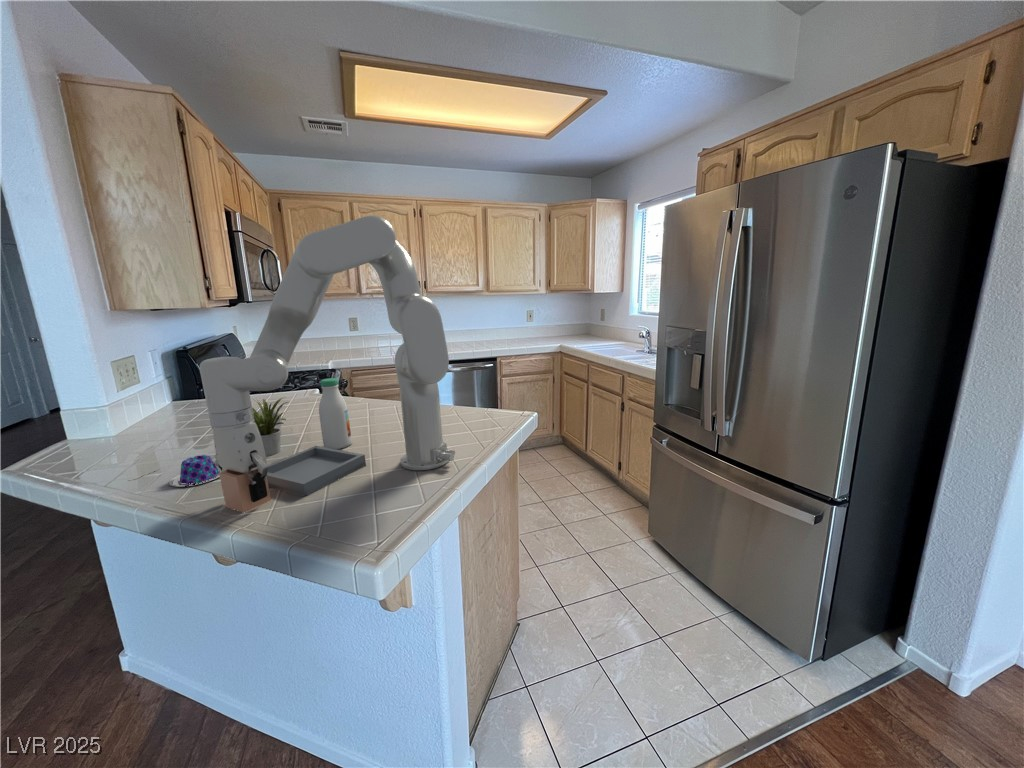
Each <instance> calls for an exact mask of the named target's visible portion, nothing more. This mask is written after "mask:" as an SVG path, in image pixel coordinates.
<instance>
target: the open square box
mask: <svg viewBox="0 0 1024 768" xmlns="http://www.w3.org/2000/svg"><path fill="white" fill-rule="evenodd" d="M254 467H255V466H254V465H253V466H251V467H249V469H251V468H254ZM251 473H252V475H253V477H254V476H255V474H256V473H257V471H254V472H251ZM218 475H220V477H219V478H220V479H219V480H220V484H221V489H222V493H223V498H224V503H225V507H228V508H231V509H230V510H232V509H235V510H238V511H241V512H243V513H242V514H245V513H247V512H249V510H250V511H251V509H252V510H253V508H254V509H255V507H256V508H258V507H259V506H260V507H261V506H262V505H264V504H265V503H268V502H270V501H272V498H271V494H270V487H269V486H268V481H267V475H266V479H265V483H266V489H267V497H265V498H263V499H261V500H258V501H256V502H252V501H251V497H250V491H249V486H248V485H249V484H251V483H250V482H249V480H248V478H247V476H246V474H245V473H241V472H237V471H233V470H229V469H228V470H226V471H223V472H219V474H218ZM228 508H227V509H228ZM235 510H234V511H235ZM238 511H237V512H238ZM246 511H247V512H246ZM241 512H240V513H241ZM244 512H245V513H244Z"/></svg>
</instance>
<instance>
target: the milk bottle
mask: <svg viewBox="0 0 1024 768" xmlns="http://www.w3.org/2000/svg"><path fill="white" fill-rule="evenodd" d="M320 386H321V387H320V388H321V389H322V394H321V398H320V401H319V404H318V414H319V424H320V431H321V436H322V437H321V439H322V443H323V447H325V448H331V449H336V450H342V449H344V448H348V447H350V446H351V444H352V443H353V442H352V441H353V440H352V434H351V433H352V432H351V426H350V424H351V423H350V417H349V411H348V410H349V409H348V405H347V403H346V400H345V398H344V397H343V395H342V394H341V393H340V390H339V379H338V378H335V377H332V378H330V377H329V378H323V379H321V380H320ZM349 445H350V446H349ZM347 446H348V447H347ZM341 448H342V449H341Z"/></svg>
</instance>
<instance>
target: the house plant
mask: <svg viewBox="0 0 1024 768" xmlns="http://www.w3.org/2000/svg"><path fill="white" fill-rule="evenodd" d="M285 398H286V396H284V397H281V398H278V399H277V400H276V402H271V403H270V404H268V402H267V401H266V399H264V398H262V404H261V403H260V401H259V400H258V399H257V398H256V399H254V398H252V400H254V401H255V402H256V403H257V405H258V406H259V409H261V411H262V414H263V417H264V418H262V415H261V414H258V413H257V412H258V411H257V410H256V409H255V408H254V407H252V409H253V415H254V422H255V423H256V425H257V427H258V430H259V432H260V436H261V439H262V442H263V446H264V450H265V455H266V457H269V456H274V455H277V454H279V453H280V452H281V448H282V447H281V442H282V441H281V439H282V438H281V436H282V434H281V433H282V429H281V428H280V429H279V428H274V427H275V425H277V424H281V425H285V423H284V422H283V421H285V422H287V418H284V417H283V418H282V419H280V420H282V422H279V423H277V421H279V420H278V419H279V418H280V417H282V415H283V414H285V413H287V411H283V412H280V410H281V408H282V407H283V406H284V405H286V404H288V403H289V401H286V402H283V403H282V404H280V406H279V407H278V408H276V407H277V405H278V404H279V403H280V402H281V401H282V400H283V399H285ZM272 404H273V405H272ZM268 406H269V410H268ZM263 407H264V410H263ZM271 407H272V408H271ZM275 408H276V409H277V412H276V414H274V415H275V416H273V417H272V415H273V412H274V409H275ZM270 409H271V410H270ZM278 412H280V415H279V416H278V417H277V414H278ZM276 417H277V419H276ZM275 419H276V420H275ZM274 421H275V423H274ZM273 424H274V425H273Z"/></svg>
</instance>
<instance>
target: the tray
mask: <svg viewBox="0 0 1024 768" xmlns="http://www.w3.org/2000/svg"><path fill="white" fill-rule="evenodd" d="M365 456H366V455H365V454H363V453H358V452H353V451H347V450H342V449H337V450H336V449H331V448H325V447H324V446H320V445H319V446H318V445H314V446H313V447H312V446H311V447H309V448H306V449H305V450H302V451H299V452H297V453H295V454H292V455H290V456H288V457H285V458H283V459H280V460H277V461H275V462H272V463H270V464H268V466H269V468H268V470H267V481H268V486H269V488H271V489H275V490H279V491H281V492H282V491H283V492H286V493H289V494H290V493H291V494H293V493H294V495H297V494H298V496H302V497H308V496H310V495H312V494H314V493H316V492H317V491H319V490H321V489H323V488H325V487H327V486H329V485H331V484H333V483H335V482H337V481H339V480H340V479H342V478H345V477H346V476H349V475H350V473H351V474H352V473H354V472H357V471H358V470H360V469H362V468H364V467H366V466H367V462H366V457H365ZM363 466H364V467H363ZM348 474H349V475H348ZM344 476H345V477H344ZM338 479H339V480H338Z"/></svg>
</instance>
